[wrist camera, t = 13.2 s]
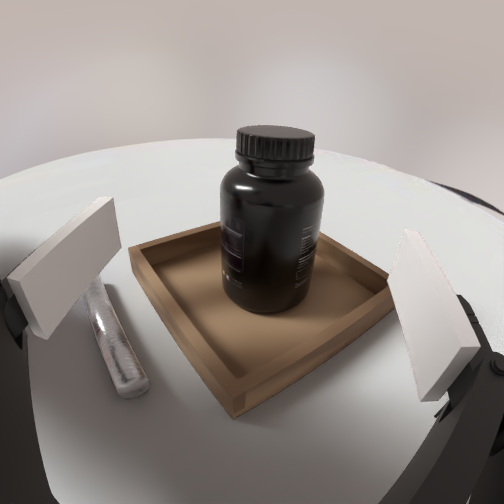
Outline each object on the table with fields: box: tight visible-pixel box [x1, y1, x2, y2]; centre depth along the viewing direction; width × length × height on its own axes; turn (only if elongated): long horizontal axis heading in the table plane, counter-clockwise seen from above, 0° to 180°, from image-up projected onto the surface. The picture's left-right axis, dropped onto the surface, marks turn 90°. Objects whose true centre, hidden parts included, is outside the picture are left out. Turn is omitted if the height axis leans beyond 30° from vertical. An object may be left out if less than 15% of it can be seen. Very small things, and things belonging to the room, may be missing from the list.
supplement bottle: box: [220, 125, 324, 314], centre depth 21 cm, size 7×7×12 cm
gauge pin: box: [82, 274, 150, 398], centre depth 19 cm, size 12×2×2 cm, turn 36°
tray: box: [128, 221, 395, 419], centre depth 24 cm, size 16×16×2 cm
